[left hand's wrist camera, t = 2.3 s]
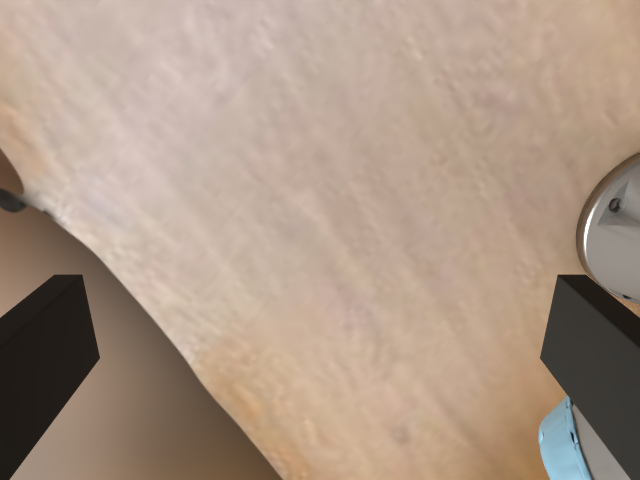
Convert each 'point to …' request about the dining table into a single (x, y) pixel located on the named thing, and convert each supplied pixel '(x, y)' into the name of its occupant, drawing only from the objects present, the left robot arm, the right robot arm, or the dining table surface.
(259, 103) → the dining table surface
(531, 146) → the dining table surface
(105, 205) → the dining table surface
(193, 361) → the dining table surface
